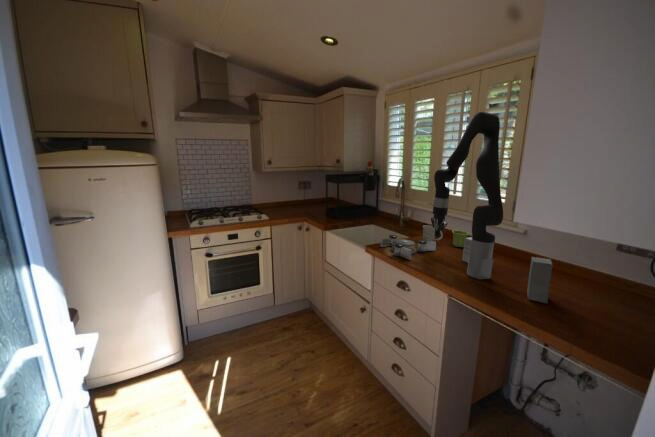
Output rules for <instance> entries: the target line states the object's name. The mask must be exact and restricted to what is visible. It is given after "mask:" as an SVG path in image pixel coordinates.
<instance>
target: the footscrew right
mask: <svg viewBox="0 0 655 437" xmlns="http://www.w3.org/2000/svg"><path fill="white" fill-rule="evenodd" d="M436 247H437V242H436V240H434V241H431V242H427V241H425V240H423V239H418V241H417V252H420V253H425V252H426V251H427V252H431V251H436Z"/></svg>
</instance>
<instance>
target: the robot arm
mask: <svg viewBox="0 0 655 437" xmlns="http://www.w3.org/2000/svg"><path fill="white" fill-rule="evenodd" d="M500 123H501V121H500V118H499V116H498V115H497V114H496V113H491V112H486V111H477V112H476V113H475V114H474V115H473V116H472V117H471V119H470V121H469V122H468V124H467V127H466V128H465V130H464V133H463V134H462V136H461V138H460V140H459V143H458V144H457V145H456V147H455V149H454V150H453V152H452V153H451V155H450V156H449V157H448V159H447V160H446V164H445V165H446V166H447V167H446V168H438V169H437V170H436V171H435V173H434V176H433V179H434V186H435V187H434V188H435V192H434V193H435V194H434V199H433V207H432V214H433V217H431V218H430V222H431V226H433V228H434V229H435V238H440V237H441V234H440V231H443V230H445V228H446V227H447V226H448V222H447V221H446V216H447V215H448V209H449V202H450V189H451V188H449V187H448V186H446V183H450V182H452V181H453V180H455V178H456V176H457V174H458V172H459V170H460V167H461V166H462V165H464V162H465V161H466V159H467V158H468V156H469V153H470V150H471V149H470V148H471V144H472V142H473V140H474V139H475V138H476V137H477V135H478V134H481V135H482V136H483V146H482V149H481V152H480V153H479V155H478V157H477V160H476V162H475V163H476V164H475V173H476V174H475V176H476V179H477V182H478V183H479V184H480V186H481V187H482V189H483V190H484V192H485V194H486V197H487V202H488V204H480V205H477V206H475V208H474V210H473V215H472V222H471V223H472V224H471V237H472V241H471V247H470V254H469V261H468V263H467V269H466V274H467V276H469V277H470V278H474V279H477V280H490V279H491V278H492V271H493V264H494V258H493V253H494V247H495V240H496V235H495V234H494V233H492V232H488V231H487V227H491V226H492V227H495V226H500V225H501V224H502V223H503V219H504V208H503V200H502V194H501V181H500V161H499V160H500V158H499V155H500V154H499V153H500V152H499V151H500V150H499V148H500V146H499V140H500V126H501V124H500Z"/></svg>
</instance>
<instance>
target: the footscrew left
mask: <svg viewBox="0 0 655 437" xmlns="http://www.w3.org/2000/svg"><path fill="white" fill-rule="evenodd" d="M393 253H394V256H396V257H402V258H405V259H407V260H411V259H412V255H413V254H412V250H410V249H408V248H405V247H404V245H403V244H399V243H396V244H395V250H394V252H393Z"/></svg>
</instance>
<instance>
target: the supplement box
mask: <svg viewBox="0 0 655 437" xmlns="http://www.w3.org/2000/svg"><path fill="white" fill-rule="evenodd" d="M471 241H472V236H471V237H467V238H465V243H464V247H463V251H462V258H461V260H462V261H463V262H465V263H467V264H468V261H469V254H470V247H471Z"/></svg>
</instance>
